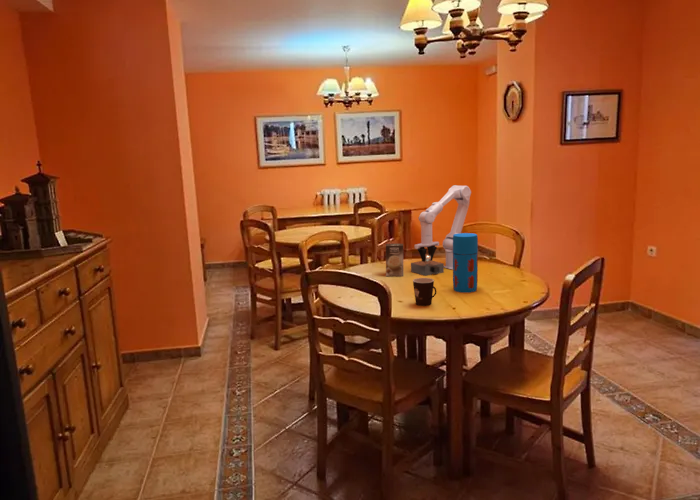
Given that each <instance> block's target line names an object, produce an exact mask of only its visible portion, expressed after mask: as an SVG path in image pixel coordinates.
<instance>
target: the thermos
mask: <svg viewBox="0 0 700 500" xmlns="http://www.w3.org/2000/svg"><path fill="white" fill-rule="evenodd" d="M478 246H479V241H478V234H476V233H472V232H471V233H470V232H469V233H468V232H464V233H463V232H461V233H459V234H454V235H453V269H452V287H453V288H452V289H453V291H454V292H456V293H463V294H466V293H474V292H477V291H478V275H479V273H478V270H479V269H478V268H479V267H478V263H479V262H478V261H479V258H478V257H479V253H478V251H479V249H478V248H479V247H478Z"/></svg>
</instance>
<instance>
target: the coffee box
mask: <svg viewBox="0 0 700 500" xmlns="http://www.w3.org/2000/svg"><path fill="white" fill-rule="evenodd" d="M385 277H404V243H385Z"/></svg>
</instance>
